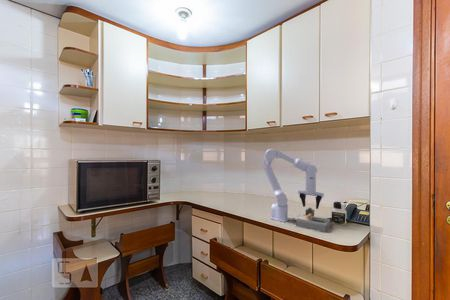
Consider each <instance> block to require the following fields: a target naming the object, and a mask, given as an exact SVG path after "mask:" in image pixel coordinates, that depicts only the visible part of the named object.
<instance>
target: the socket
mask: <svg viewBox="0 0 450 300" xmlns="http://www.w3.org/2000/svg"><path fill="white" fill-rule="evenodd" d="M303 215H304V216H307V215H306V214H303ZM331 224H332V220H331V219H330V218H324V217H321V216H320V217H319V216H315V215H314V216H312V219H311V220H304V219H299V218H297V219H296V227H300V228H303V229H307V230H313V231H316V232H317V231H318V232H323V233H326V232H327V231H329V229H330V227H331Z"/></svg>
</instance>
